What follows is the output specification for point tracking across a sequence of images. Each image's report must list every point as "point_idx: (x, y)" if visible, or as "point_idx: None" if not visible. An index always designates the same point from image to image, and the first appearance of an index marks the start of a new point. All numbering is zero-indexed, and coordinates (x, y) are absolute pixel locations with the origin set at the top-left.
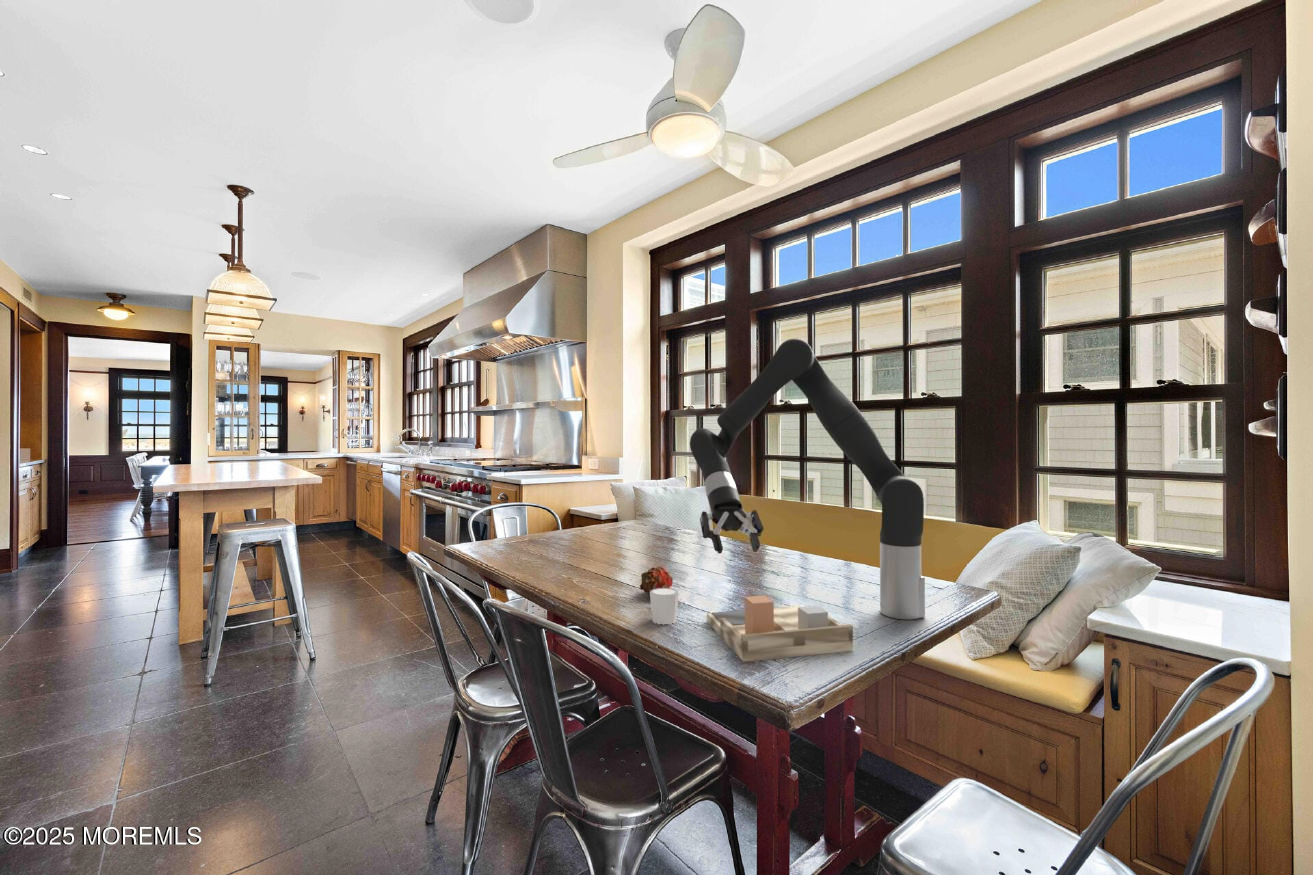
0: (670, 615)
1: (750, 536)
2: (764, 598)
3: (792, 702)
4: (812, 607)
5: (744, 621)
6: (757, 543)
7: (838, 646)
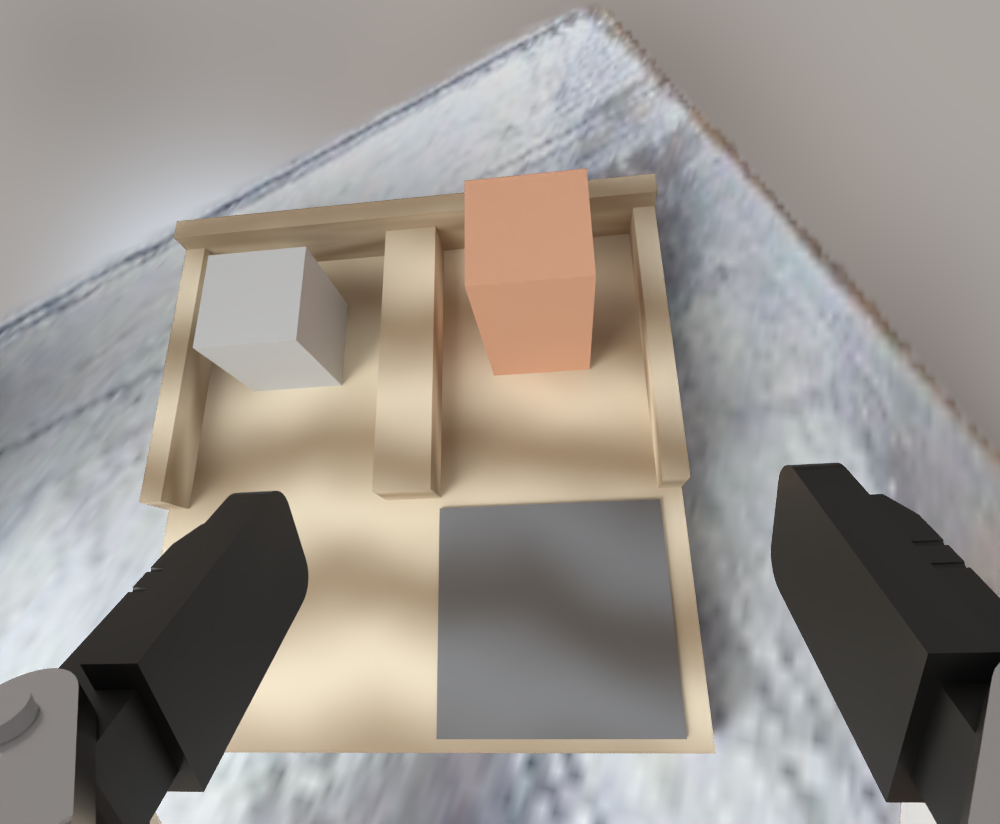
0: None
1: (153, 795)
2: (488, 238)
3: (583, 13)
4: (232, 325)
5: (538, 533)
6: (213, 521)
7: None
